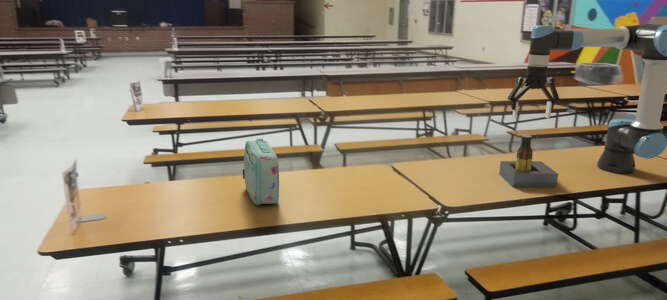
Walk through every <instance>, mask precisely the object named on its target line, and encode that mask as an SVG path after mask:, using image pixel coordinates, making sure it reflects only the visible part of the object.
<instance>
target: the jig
mask: <svg viewBox="0 0 667 300" xmlns="http://www.w3.org/2000/svg"><path fill="white" fill-rule="evenodd" d="M515 167H516V160H500V163H499V170H498V171H499V173H498V175H500V176H501V177H502V179H504V180H505V182H507V183H508V185H510V186H511V187H512V188H553V189H554V188H557V185H558V179H559V173H558V172H557V171H555V170H554V169H553V168H552V167H550V166H548V165H547V164H546V163H544V162H543V161H541V160H540V161H538V160H537V161H536V160H532V166H531V171H516V170H515Z"/></svg>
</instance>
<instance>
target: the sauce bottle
mask: <svg viewBox="0 0 667 300" xmlns="http://www.w3.org/2000/svg"><path fill="white" fill-rule="evenodd" d="M520 139H521V142H520V146H519V148H518V150H517V152H516V160H515V161H516V167H515V170H516V171H531V166H532V161H533V154H534V153H533V149H532V146H531V145H532V144H531V143H532V139H533V135H530V134H522V135H521V136H520Z"/></svg>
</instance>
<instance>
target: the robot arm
mask: <svg viewBox="0 0 667 300" xmlns="http://www.w3.org/2000/svg"><path fill="white" fill-rule="evenodd" d="M580 48H616V49H617V50H628V51H633V52H639V53H641V58H640V59H641V61H643V63H644V67H643V73H642V80H641V84H640V89H639V97H638V102H637V107H636V108H637V109H636V114H635V119H629V118H627V119H626V118H613V119H610V121H609V123H608V127H607V132H606V138H605V143H604V147H603V148H604V149H603V151H602V153H601V155H600V156H599V158H598V159H597V164H596V166H597V168H599V169H601V170H603V171H606V170H607V171H606V172H609V171H611V173H614V172H616V173H615V174H624V173H627V174H633V173H635V171H636V163H635V162H636V161H635V155H636V156H637V157H639V158H643V159H647V160H648V159H650V160H651V159H654V158H657V157H659V155H662V153H663V152H664V151H665V150H666V148H667V137H666V136H665V134H663V131H664V126H663V124H662V123H661V117H662V112H663V105H664V101H665V95H666V89H667V24H661V23H660V24H658V23H656V24H655V23H642V24H635V25H621V26H619V27H617V28H554V26H553V25H548V24H545V25H543V24H538V25H537V24H535V25H534V26H533V27H532V31H531V35H530V45H529V53H528V58H527V59H528V61H527V65H528V66H527V68H526V77H524V78H523V77H521V76H519V77H517V81H516V83H515V85H514V86H513V88H512V90H511V92H510V93H509V95H508V96H507V100H509V101H510V102H511V107H510V108H511V110H512V118H513V119H518V118H517V117H518V109H519V102H518V101H519V100H520V99H521V98H522V97H523V96H524V95H525V94H526V93H527V92H528V91H529V90H541V91H542V92H543V94H544V95H545V97H546V99H548V101H546V108H545V113H544V114H545V115H544V117H545V118H546V119H551V113H552V111H553V110H554V106H555V103H556V102H558V101H560V96H559V93H558V91H557V88H556V85H555V78H554V77H550V76H549V77H548V69H549V67H548V66H549V63H550V54H551V51H577V50H579V49H580ZM546 83H548V87H549V89H550V91H551V93H550V91H549V90H548V89H547V86H546ZM523 84H524V85H523ZM522 85H523V87H522ZM521 87H522V88H521ZM520 88H521V89H520Z"/></svg>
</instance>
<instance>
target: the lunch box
mask: <svg viewBox="0 0 667 300" xmlns="http://www.w3.org/2000/svg"><path fill="white" fill-rule="evenodd" d="M243 152H244V153H243V156H244V157H243V169H242V179H243V180H244V184H245V189H246V191H247V193H248V195H249V198H250V199H251V200H252V202H253V204H254V205H256V206H260V205H268V204H270V205H272V204H273V205H274V204H278V203H279V200H280V199H279V197H280V195H279V194H280V170H279V169H280V168H279V158H278V156H277V154H276V153H275V151H274V149H273V148H272V147H271V145H270V144H269V142H268V141H267V140H265V139H263V138H256V139H255V140H246V142H245V146H244V150H243Z"/></svg>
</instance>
